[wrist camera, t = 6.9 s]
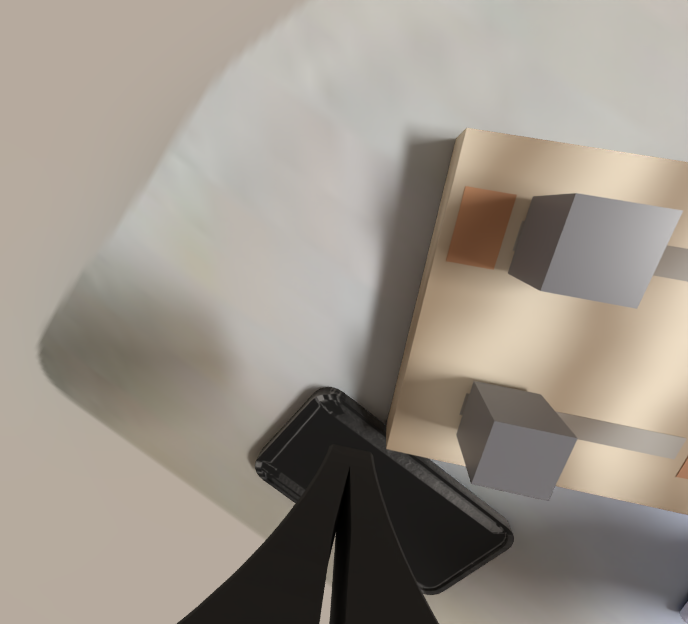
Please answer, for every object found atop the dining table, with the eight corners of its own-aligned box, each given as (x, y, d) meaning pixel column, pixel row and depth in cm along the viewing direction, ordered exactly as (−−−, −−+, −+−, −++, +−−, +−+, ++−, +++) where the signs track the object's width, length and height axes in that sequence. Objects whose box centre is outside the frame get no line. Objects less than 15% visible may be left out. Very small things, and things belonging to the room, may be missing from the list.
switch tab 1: (540, 394, 15) (577, 438, 12) (519, 448, 16) (548, 500, 13) (473, 380, 15) (494, 421, 12) (456, 434, 16) (471, 484, 13)
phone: (324, 386, 18) (523, 540, 19) (328, 376, 19) (515, 523, 21) (246, 470, 20) (428, 601, 22) (253, 457, 21) (427, 583, 23)
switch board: (852, 200, 13) (931, 199, 11) (675, 486, 18) (709, 520, 16) (455, 138, 14) (467, 127, 12) (386, 425, 19) (386, 449, 17)
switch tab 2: (614, 210, 12) (682, 210, 9) (583, 287, 13) (637, 308, 10) (532, 196, 13) (576, 192, 10) (507, 273, 13) (540, 291, 11)
